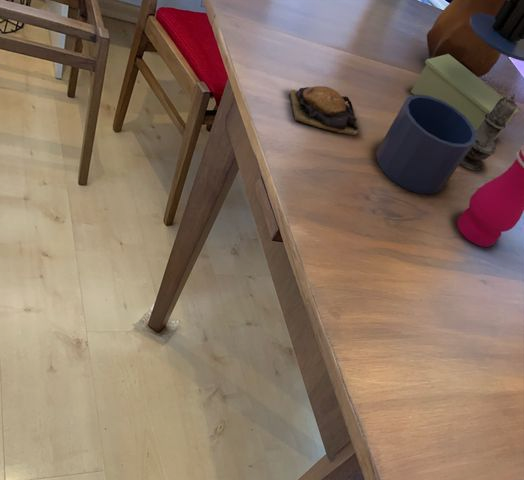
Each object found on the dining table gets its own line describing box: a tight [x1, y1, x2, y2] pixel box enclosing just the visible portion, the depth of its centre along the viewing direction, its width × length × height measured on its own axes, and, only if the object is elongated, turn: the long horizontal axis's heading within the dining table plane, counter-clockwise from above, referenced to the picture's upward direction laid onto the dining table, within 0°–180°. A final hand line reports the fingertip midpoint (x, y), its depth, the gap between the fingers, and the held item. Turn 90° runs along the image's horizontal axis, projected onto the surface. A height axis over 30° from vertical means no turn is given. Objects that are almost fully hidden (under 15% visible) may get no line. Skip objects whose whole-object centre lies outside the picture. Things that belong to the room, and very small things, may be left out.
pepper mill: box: [456, 144, 524, 248], centre depth 74 cm, size 7×7×20 cm
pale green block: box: [410, 54, 521, 141], centre depth 98 cm, size 17×8×6 cm, turn 44°
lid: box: [470, 0, 524, 62], centre depth 87 cm, size 12×12×7 cm
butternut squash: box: [426, 0, 506, 78], centre depth 100 cm, size 14×13×25 cm
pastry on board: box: [289, 85, 359, 136], centre depth 85 cm, size 11×8×4 cm
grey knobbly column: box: [459, 93, 517, 171], centre depth 88 cm, size 6×6×12 cm
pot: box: [375, 94, 477, 195], centre depth 82 cm, size 11×11×8 cm
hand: (506, 32), depth 88 cm, fingers closed on lid, 2 cm apart
